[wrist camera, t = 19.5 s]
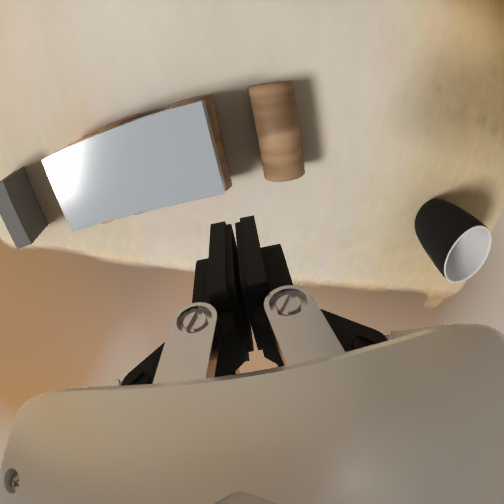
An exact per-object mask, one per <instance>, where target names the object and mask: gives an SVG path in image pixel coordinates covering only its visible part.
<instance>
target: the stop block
mask: <svg viewBox="0 0 504 504" xmlns="http://www.w3.org/2000/svg"><path fill="white" fill-rule="evenodd" d="M0 215H1V217H2V219H3V221H4V223H5V225H6V227H7V229H8V231H9V233H10V235H11V237H12V239H13V241H14V243H15V245H16V247H17V248H18V249H19V248H21V247H24V246H27V245H30V244H32V243H33V242H34V240H35V239H36V238H37V237H38V236H39V234H40V233H41V232H42V231H43V230H44V229H45V228H46V226H47V225H48V224H47V222H46V219H45V217H44V215H43V213H42V211H41V208H40V206H39V204H38V202H37V199H36V197H35V195H34V192H33V190H32V187H31V185H30V182H29V180H28V177H27V175H26V172H25V169H24V167H23V168H21V169H19V170H17V171H15V172H14V173H12V174H10V175H9V176H7V177H6V178H4V179H3V180H1V181H0Z"/></svg>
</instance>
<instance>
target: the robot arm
mask: <svg viewBox="0 0 504 504" xmlns="http://www.w3.org/2000/svg"><path fill="white" fill-rule="evenodd" d="M235 227H236V239H237V245H236V241H235V237H234V233H233V229H232V225H231V224H228V225H226V223H225V222H220V223H215V224H211V228H210V244H209V258H208V259H203V260H198V261H197V262H196V269H195V279H194V289H193V300H192V304H189V305H187V306H185V307H183V308H182V309H180V310H179V311H178V312H177V313H176V314H175V316H174V318H173V319H172V322H171V325H170V329H169V332H168V335H167V338H166V341H165V342H164V343H163V344H162V345H161V346H160V347H159V348H158V349H156V350H155V351H154V352H153V353H152V354H150V355H149V356H148V357H147V358H146V359H145V360H144V361H142V362H141V363H140V364H139V365H138V366H137V367H135V368H134V369H133V370H132V371H131V372H129V373H128V375H127V376H126V377H125V378H124V380H123V381H120V380H119V379H115V380H112V381H108V382H104V383H100V384H96V385H92V386H88V387H80V388H66V389H58V390H53V391H49V392H45V393H42V394H40V395H38V396H35V397H33V398H31V399H30V400H28V401H27V402H25V403H24V404H23V405H22V406H21V407H20V409H19V410H18V412H17V414H16V416H15V419H14V421H13V424H12V426H11V429H10V432H9V435H8V438H7V442H6V446H5V450H4V454H3V458H2V463H1V468H0V504H504V335H503V334H502V333H501V332H499V331H498V330H496V329H494V328H492V327H490V326H486V325H480V324H454V325H442V326H434V327H426V328H418V329H408V330H398V331H391V334H390V335H383V334H382V333H381V332H379V331H377V330H375V329H372V328H369V327H367V326H364V325H361V324H359V323H356V322H353V321H351V320H348V319H345V318H343V317H340V316H337V315H335V314H332V313H330V312H327V311H324V310H322V309H320V308H319V307H318V305H317V303H316V302H315V300H314V298H313V297H312V295H311V294H310V293H309V291H307V290H306V289H305V288H303V287H300V286H296V285H293V283H292V280H291V277H290V273H289V270H288V267H287V264H286V260H285V257H284V254H283V251H282V247H281V245H280V244H277V245H272V246H267V247H262V248H260V243H259V239H258V234H257V229H256V224H255V219H254V216H249V217H244V218H240V222H238V223H235ZM251 326H252V330H253V333H254V337H255V340H256V343H257V347H258V350H262V349H263V353H264V357H265V358H267V359H269V360H271V361H273V362H275V363H276V364H277V367H276V368H271V369H266V370H260V371H254V372H248V373H242V374H240V371H239V367H240V366H241V365H242V364H243V363H244V362H245V361H249V353H248V352H251V351H253V350H254V349H253V339H252V332H251Z"/></svg>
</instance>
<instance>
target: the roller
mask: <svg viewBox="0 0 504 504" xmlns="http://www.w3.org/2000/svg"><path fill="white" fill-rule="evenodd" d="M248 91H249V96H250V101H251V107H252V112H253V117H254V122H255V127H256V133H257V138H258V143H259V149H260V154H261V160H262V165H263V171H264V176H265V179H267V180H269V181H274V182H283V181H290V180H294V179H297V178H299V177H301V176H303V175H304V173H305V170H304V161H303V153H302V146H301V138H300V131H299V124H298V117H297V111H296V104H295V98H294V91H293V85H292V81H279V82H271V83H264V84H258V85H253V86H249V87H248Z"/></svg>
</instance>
